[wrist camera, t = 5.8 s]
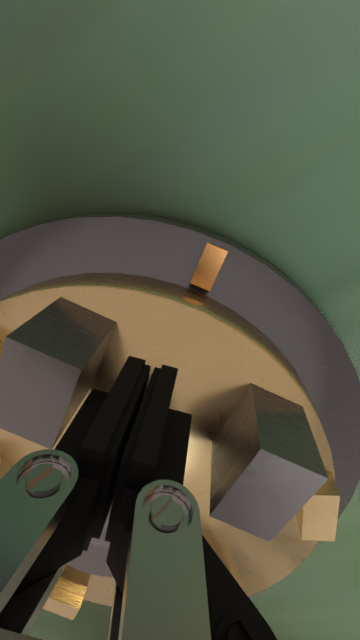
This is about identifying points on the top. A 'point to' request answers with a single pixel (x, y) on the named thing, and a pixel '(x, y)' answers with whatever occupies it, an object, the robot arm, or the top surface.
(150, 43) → the top surface
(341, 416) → the housing
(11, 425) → the round gold dish
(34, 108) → the top surface
